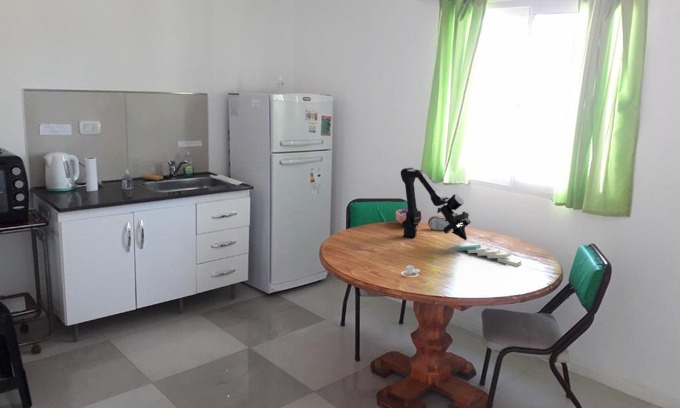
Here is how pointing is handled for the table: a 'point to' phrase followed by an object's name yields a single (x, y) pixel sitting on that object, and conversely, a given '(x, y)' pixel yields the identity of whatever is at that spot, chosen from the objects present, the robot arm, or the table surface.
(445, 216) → the robot arm
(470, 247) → the teal domino
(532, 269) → the table surface
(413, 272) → the teacup and saucer
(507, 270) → the table surface
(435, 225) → the tin
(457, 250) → the mat
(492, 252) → the domino
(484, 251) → the domino
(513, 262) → the domino
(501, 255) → the domino
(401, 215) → the cell model
